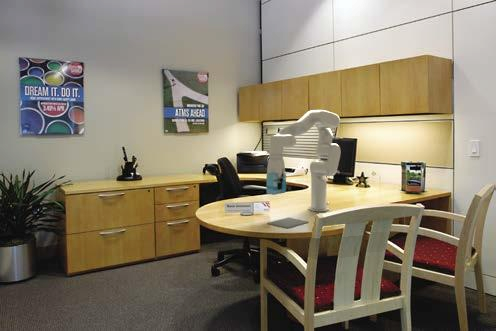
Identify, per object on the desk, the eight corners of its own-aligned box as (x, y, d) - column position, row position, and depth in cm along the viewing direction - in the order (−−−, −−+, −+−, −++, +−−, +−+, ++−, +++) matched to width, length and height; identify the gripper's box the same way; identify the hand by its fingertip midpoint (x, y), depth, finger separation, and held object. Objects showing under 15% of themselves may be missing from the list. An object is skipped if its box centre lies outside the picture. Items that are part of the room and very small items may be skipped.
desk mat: (288, 218, 225) (288, 217, 225) (308, 222, 215) (308, 221, 215) (267, 223, 213) (267, 222, 213) (287, 228, 203) (287, 227, 203)
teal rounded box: (272, 195, 219) (272, 173, 217) (266, 194, 222) (266, 173, 220) (286, 192, 227) (286, 172, 226) (280, 191, 230) (280, 171, 229)
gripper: (261, 156, 226) (261, 188, 228) (283, 158, 214) (283, 191, 215) (270, 155, 231) (270, 186, 233) (292, 157, 219) (292, 189, 221)
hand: (276, 188), depth 224 cm, fingers closed on teal rounded box, 4 cm apart
